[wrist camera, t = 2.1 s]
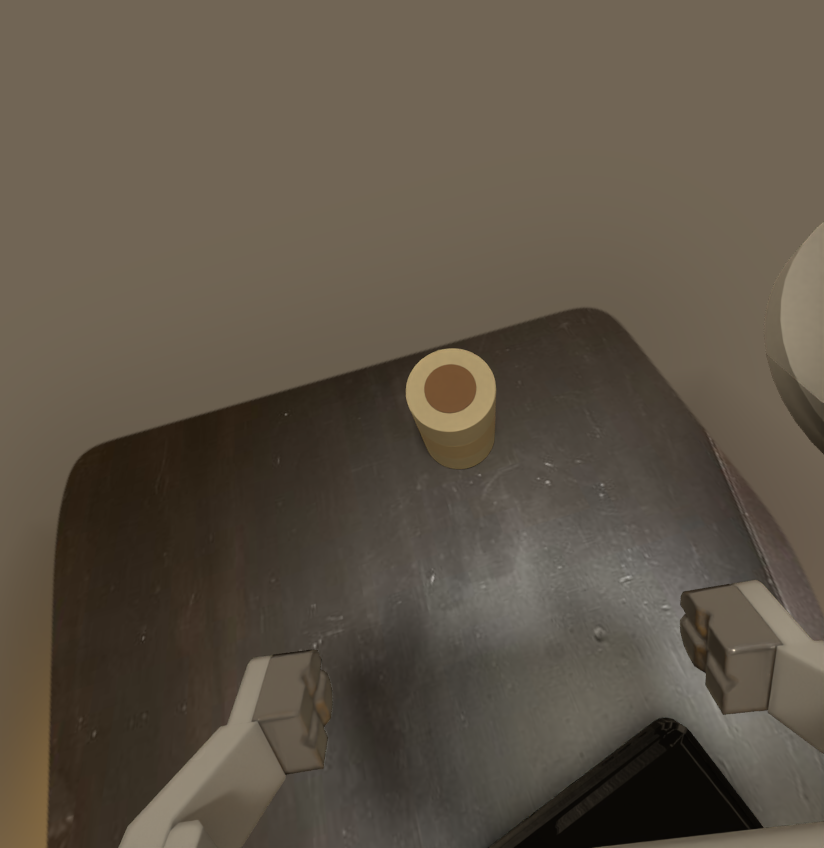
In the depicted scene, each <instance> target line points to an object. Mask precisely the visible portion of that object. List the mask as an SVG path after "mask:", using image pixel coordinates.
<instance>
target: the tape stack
mask: <svg viewBox="0 0 824 848" xmlns="http://www.w3.org/2000/svg"><path fill="white" fill-rule="evenodd" d="M406 399H407V403H408V406H409V408H410V411H411V413H412V415H413V418H414V420H415V422H416V425H417V427H418V429H419V432H420V434H421V436H422V438H423V441H424V443H425V445H426V448H427V450H428V452H429V453H430V455H431V456H432V457H433V459H434V460H436V461H437V462H438V463H440V464H441V465H443V466H445V467H448V468H452V469H466V468H470V467H473V466H475V465H477V464H479V463H480V462H482V461H483V460H484V459H485V458H486V457H487V456H488V454H489V453H490V451H491V449H492V447H493V444H494V439H495V406H496V383H495V379H494V376H493V373H492V371H491V369H490V368H489V366H488V365H487V364H486V363H485V362H484V361H483V360H482V359H481V358H480V357H478V356H477V355H475V354H473V353H471V352H469V351H466V350H462V349H443V350H439V351H436V352H433V353H431V354H429V355H427V356H426V357H424V358H423V359H422V360H421V361H419V362H418V363H417V365H416V366H415V367H414V368H413V370H412V371H411V373H410V375H409V378H408V381H407V384H406Z"/></svg>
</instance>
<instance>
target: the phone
mask: <svg viewBox="0 0 824 848" xmlns="http://www.w3.org/2000/svg"><path fill="white" fill-rule="evenodd" d="M761 828H764V827H763V826H762V825H761V823H760V822H759V821H758V820H757V818H756V817H755V816H754V814H753V813H752V812H751V810H750V809H749V808H748V806H747V805H746V804H745V803H744V801H743V800H742V799H741V797H740V796H739V795H738V793H737V792H736V791H735V789H734V788H733V787H732V785H731V784H730V783H729V782H728V780H727V779H726V778H725V776H724V775H723V774H722V772H721V771H720V770H719V768H718V767H717V766H716V764H715V763H714V762H713V761H712V759H711V758H710V757H709V755H708V754H707V753H706V751H705V750H704V749H703V747H702V746H701V745H700V743H699V742H698V741H697V740H696V738H695V737H694V736H693V734H692V733H691V732H690V731H689V730H688V729H687V728H686V727H685V726H683V725H682V724H680V723H679V722H677V721H675V720H673V719H670V718H660V719H658V720H656V721H654V722H653V723H651V724H650V725H649V726H647V727H646V728H645V729H644V730H642V731H641V732H640V733H638V734H637V735H636V736H634V737H633V738H632V739H630V740H629V741H628V742H626V743H625V744H624V745H623V746H621V747H620V748H619V749H617V750H616V751H615V752H613V753H612V754H611V755H609V756H608V757H607V758H605V759H604V760H603V761H602V762H600V763H599V764H598V765H596V766H595V767H594V768H592V769H591V770H590V771H588V772H587V773H586V774H584V775H583V776H582V777H581V778H579V779H578V780H577V781H575V782H574V783H573V784H571V785H570V786H569V787H567V788H566V789H565V790H564V791H562V792H561V793H560V794H558V795H557V796H556V797H554V798H553V799H552V800H550V801H549V802H548V803H546V804H545V805H544V806H543V807H541V808H540V809H539V810H537V811H536V812H535V813H533V814H532V815H531V816H529V817H528V818H527V819H525V820H524V821H523V822H522V823H520V824H519V825H518V826H516V827H515V828H514V829H512V830H511V831H510V832H508V833H507V834H506V835H504V836H503V837H502V838H501V839H499V840H498V841H497V842H495V843H494V844H493V845H491V846H490V847H489V848H595V847H604V846H613V845H621V844H630V843H639V842H648V841H656V840H665V839H674V838H682V837H691V836H700V835H709V834H717V833H726V832H735V831H743V830H752V829H761Z"/></svg>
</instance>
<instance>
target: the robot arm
mask: <svg viewBox="0 0 824 848" xmlns="http://www.w3.org/2000/svg"><path fill="white" fill-rule="evenodd" d="M680 605H681V607H682V608H683V610H684V612H685V613H686V614H685V615H684V616H683V617H682V618H681V620H680V633H681V637H682V641H683V645H684V647H685V649H686V652H687V654H688V656H689V658H690V660H691V661H692V663H693V665H694V666H695V667H697V668H698V669H700V670H701V671H703V672H705V673H706V679H705V685H706V687H707V689H708V690H709V692H710V694H711V695H712V697H713V699H714V700H715V702H716V704H717V705H718V707H719V709H720V710H721V712H722V714H723V715H726V714H735V713H745V712H754V711H764V710H768V713H769V714H771V715H772V716H773V717H775V718H776V719H777V720H779V721H780V722H781V723H783V724H784V725H785V726H787V727H788V728H789V729H791V730H792V731H793V732H795V733H796V734H797V735H799V736H800V737H801V738H803V739H804V740H805V741H807V742H808V743H809V744H811V745H812V746H813V747H815V748H816V749H817V750H819V751H820V752H822V753H823V754H824V641H822V640H817V641H813V640H812V639H811V638H810V636H809V635H808V634H807V633H806V632H805V631H804V630H803V629H802V627H801V626H800V625H799V624H798V623H797V622H796V621H795V620H794V618H793V617H792V616H791V615H790V614H789V613H788V612H787V611H786V610H785V608H784V607H783V606H782V605H781V604H780V603H779V602H778V601H777V599H776V598H775V597H774V596H773V595H772V594H771V593H770V592H769V590H768V589H767V588H766V587H765V586H764V585H763V584H762V583H761V582H759V581H757V580H752V581H746V582H739V583H733V584H726V585H720V586H714V587H708V588H702V589H696V590H690V591H684V592H683V593H682V595H681V600H680ZM321 664H322V658H321V656H320V654H319V652H318V650H306V651H298V652H290V653H282V654H274V655H269V656H262V657H254V658H252V659H251V661H250V662H249V663H248V665H247V668H246V671H245V673H244V676H243V679H242V682H241V685H240V688H239V691H238V694H237V697H236V700H235V703H234V706H233V709H232V712H231V715H230V718H229V720H228V723H227V725H226V726H220V728H219V729H218V730H217V731H216V732H215V733H214V734H213V735H212V736H211V737H210V738H209V739H208V741H207V742H206V743H205V744H204V745H203V746H202V747H201V748H200V749H199V750H198V751H197V752H196V753H195V755H194V756H193V757H192V758H191V759H190V760H189V761H188V762H187V763H186V764H185V765H184V766H183V768H182V769H181V770H180V771H179V772H178V773H177V774H176V775H175V776H174V777H173V778H172V779H171V780H170V782H169V783H168V784H167V785H166V786H165V787H164V788H163V789H162V790H161V791H160V792H159V793H158V795H157V796H156V797H155V798H154V799H153V800H152V801H151V802H150V803H149V804H148V805H147V806H146V807H145V809H144V810H143V811H142V812H141V813H140V814H139V815H138V816H137V817H136V818H135V819H134V820H133V822H132V823H131V824H130V825H129V826H128V827H127V830H126V832H125V834H124V836H123V839H122V841H121V843H120V845H119V848H242V846H243V845H244V843H245V841H246V840H247V838H248V837H249V835H250V834H251V832H252V830H253V829H254V827H255V826H256V824H257V823H258V821H259V819H260V818H261V816H262V815H263V813H264V811H265V810H266V808H267V807H268V805H269V804H270V802H271V800H272V799H273V797H274V796H275V794H276V793H277V791H278V789H279V788H280V786H281V785H282V783H283V782H284V780H285V778H286V775H287V774H293V773H299V772H305V771H311V770H317V769H323V768H324V763H325V757H326V750H327V744H328V735H327V733H326V731H325V728H324V727H325V725H326V724H327V723H328V721H329V720H330V719H331V716H332V709H333V690H332V685H331V681H330V678H329V675H328V673H327V672H325V671H323V670H322V669H321ZM595 848H824V821H821V822H813V823H804V824H795V825H787V826H778V827H769V828H761V829H752V830H743V831H735V832H726V833H717V834H709V835H700V836H691V837H682V838H674V839H665V840H656V841H648V842H639V843H630V844H621V845H613V846H604V847H595Z"/></svg>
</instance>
